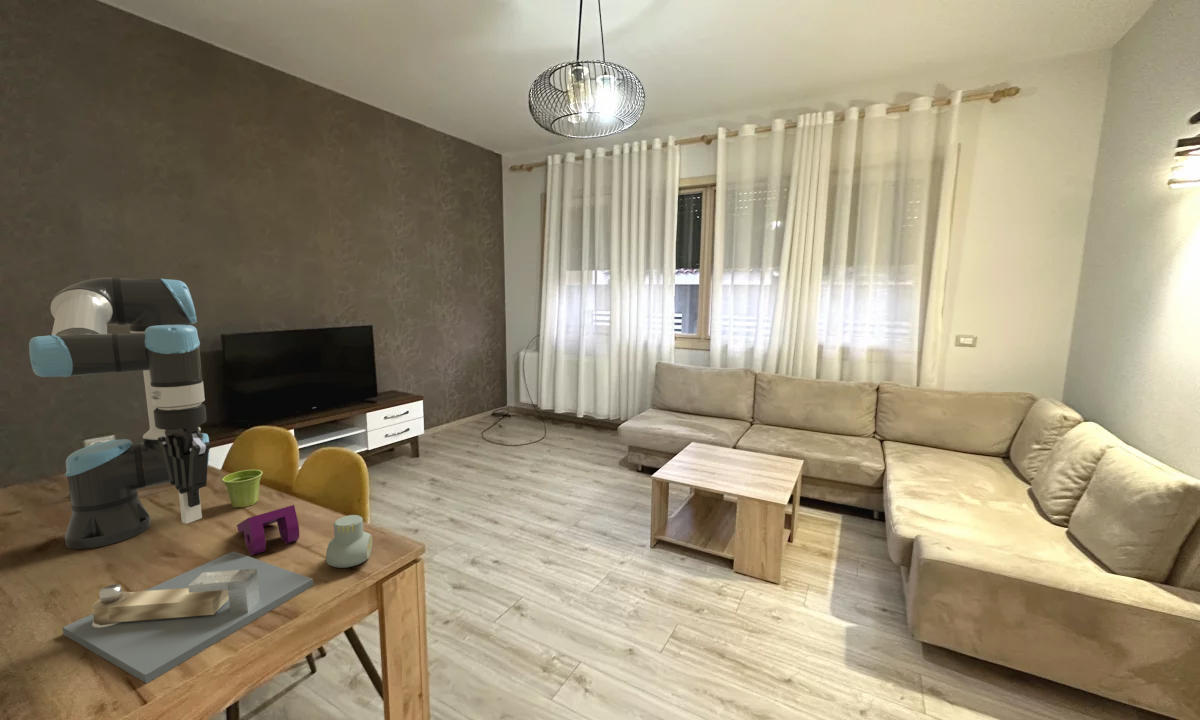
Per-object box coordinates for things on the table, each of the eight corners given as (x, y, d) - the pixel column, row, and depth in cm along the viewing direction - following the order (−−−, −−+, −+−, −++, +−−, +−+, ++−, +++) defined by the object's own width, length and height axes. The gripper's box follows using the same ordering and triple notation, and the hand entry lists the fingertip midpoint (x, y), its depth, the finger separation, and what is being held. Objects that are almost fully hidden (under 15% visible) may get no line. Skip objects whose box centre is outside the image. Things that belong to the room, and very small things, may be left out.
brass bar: (85, 625, 85) (83, 610, 84) (110, 607, 90) (108, 592, 89) (212, 615, 88) (211, 600, 87) (229, 598, 93) (228, 584, 92)
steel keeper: (191, 617, 88) (187, 585, 87) (205, 603, 92) (202, 572, 91) (248, 612, 89) (245, 580, 89) (259, 599, 93) (256, 568, 92)
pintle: (85, 622, 86) (81, 593, 85) (125, 604, 91) (122, 576, 90) (101, 631, 84) (97, 601, 83) (141, 612, 89) (138, 583, 88)
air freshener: (365, 571, 106) (363, 529, 105) (324, 576, 104) (321, 534, 102) (374, 546, 116) (372, 508, 115) (336, 551, 114) (334, 512, 113)
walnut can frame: (79, 494, 143) (78, 485, 143) (157, 473, 161) (156, 465, 160) (112, 506, 136) (111, 496, 136) (190, 482, 154) (189, 473, 153)
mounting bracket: (240, 559, 120) (255, 554, 109) (233, 527, 122) (248, 517, 110) (282, 545, 127) (301, 538, 116) (276, 514, 129) (294, 504, 117)
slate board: (63, 634, 85) (62, 627, 85) (233, 557, 111) (233, 551, 111) (146, 683, 75) (145, 674, 75) (313, 585, 100) (312, 578, 100)
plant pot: (270, 501, 140) (268, 473, 139) (233, 513, 132) (230, 484, 131) (256, 494, 145) (253, 467, 144) (219, 505, 137) (216, 477, 136)
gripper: (136, 405, 90) (150, 521, 94) (175, 413, 85) (189, 535, 89) (183, 397, 97) (194, 506, 101) (222, 405, 92) (232, 518, 96)
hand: (192, 519), depth 95 cm, fingers closed
